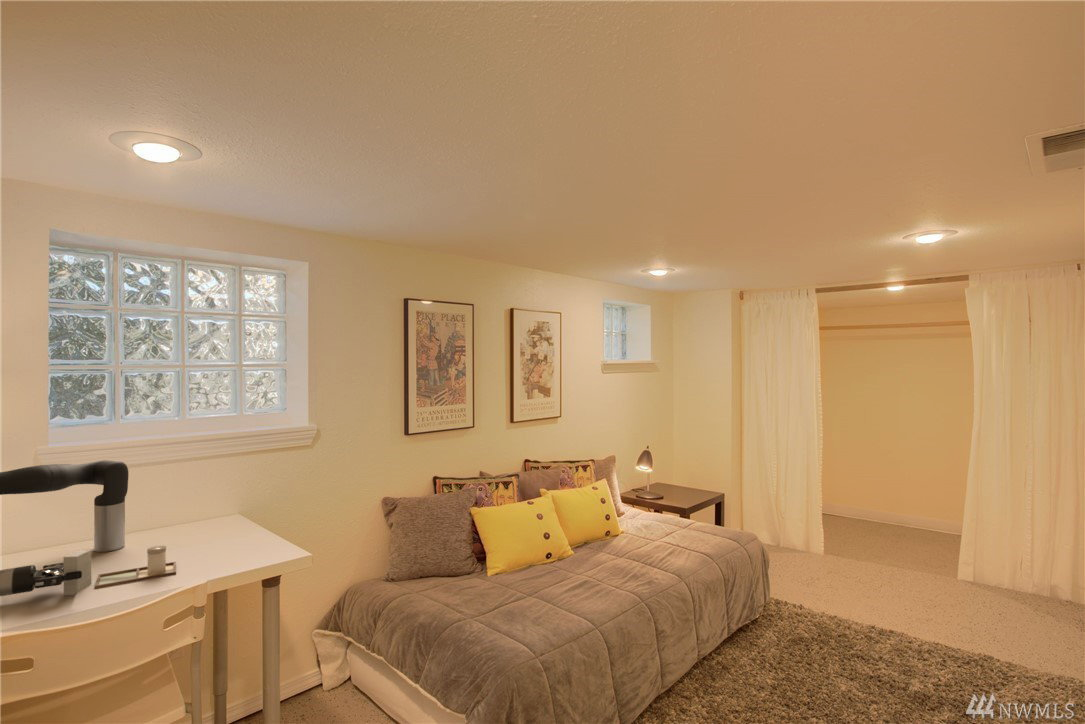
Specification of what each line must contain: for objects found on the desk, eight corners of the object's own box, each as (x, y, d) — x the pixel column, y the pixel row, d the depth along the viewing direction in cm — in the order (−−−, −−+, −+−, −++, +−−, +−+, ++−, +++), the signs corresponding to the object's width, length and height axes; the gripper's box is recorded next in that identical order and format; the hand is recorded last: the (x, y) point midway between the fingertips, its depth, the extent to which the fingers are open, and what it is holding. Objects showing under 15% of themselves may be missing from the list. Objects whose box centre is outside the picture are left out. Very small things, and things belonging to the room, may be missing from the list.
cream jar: (147, 571, 186) (147, 547, 186) (166, 568, 189) (166, 544, 189) (146, 576, 182) (146, 552, 182) (166, 573, 185) (166, 549, 185)
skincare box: (77, 587, 175) (77, 549, 175) (91, 587, 176) (91, 549, 176) (62, 595, 169) (62, 556, 169) (77, 595, 170) (77, 556, 170)
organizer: (98, 580, 181) (98, 574, 181) (175, 566, 193) (175, 561, 193) (94, 591, 172) (94, 586, 172) (175, 577, 184) (175, 571, 184)
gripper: (7, 576, 158) (80, 564, 167) (18, 561, 170) (86, 550, 179) (7, 602, 158) (80, 589, 167) (18, 585, 170) (86, 574, 179)
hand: (83, 569), depth 173 cm, fingers open, 8 cm apart
